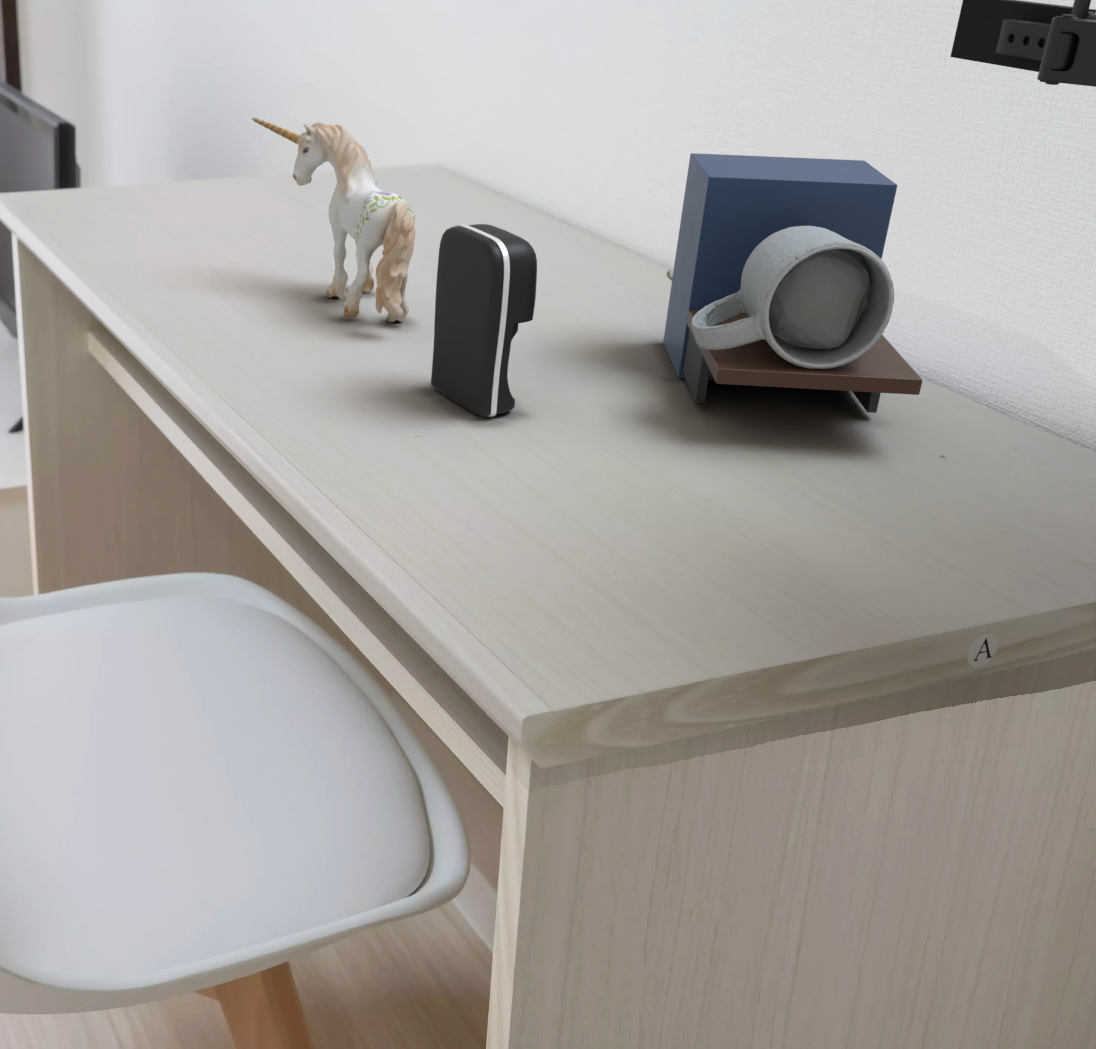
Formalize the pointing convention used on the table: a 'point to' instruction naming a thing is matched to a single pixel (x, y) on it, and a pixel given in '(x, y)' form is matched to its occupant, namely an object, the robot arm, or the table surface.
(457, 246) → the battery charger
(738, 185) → the blue chair shape
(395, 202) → the unicorn figurine
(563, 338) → the table surface
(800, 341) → the ceramic mug
